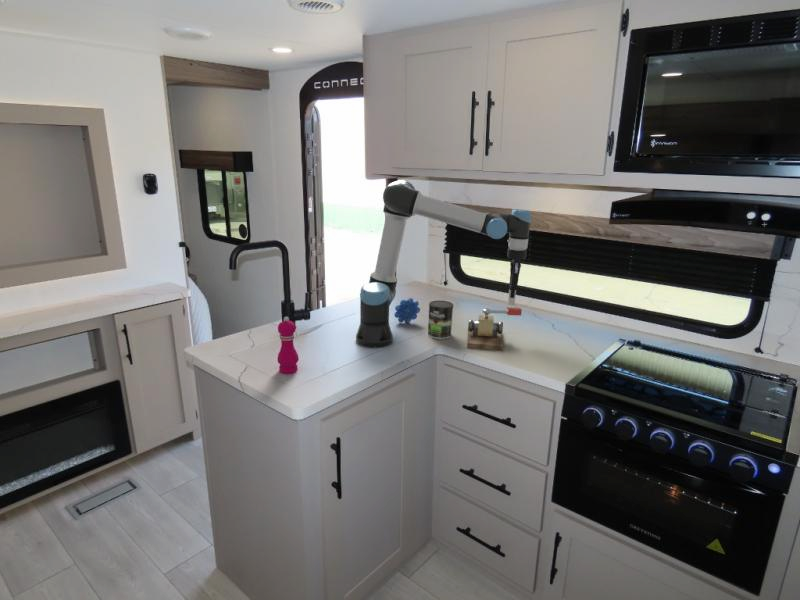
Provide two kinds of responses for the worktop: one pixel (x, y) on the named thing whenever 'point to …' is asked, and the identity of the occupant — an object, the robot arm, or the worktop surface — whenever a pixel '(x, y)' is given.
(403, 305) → the grapes
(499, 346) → the base board
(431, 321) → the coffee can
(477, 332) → the valve body
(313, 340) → the worktop surface
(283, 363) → the pepper mill
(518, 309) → the valve lever
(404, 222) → the robot arm
